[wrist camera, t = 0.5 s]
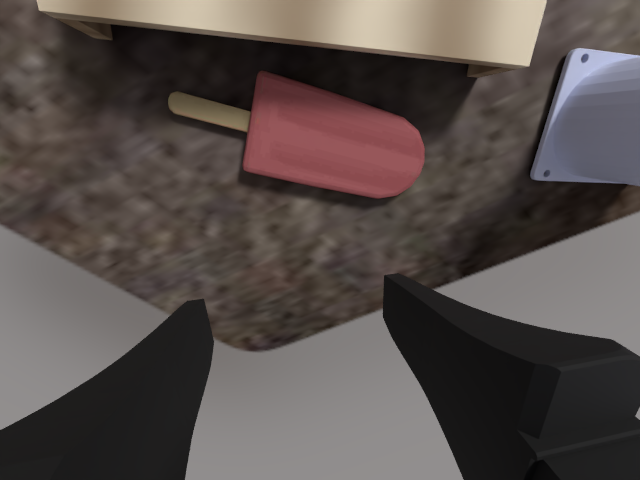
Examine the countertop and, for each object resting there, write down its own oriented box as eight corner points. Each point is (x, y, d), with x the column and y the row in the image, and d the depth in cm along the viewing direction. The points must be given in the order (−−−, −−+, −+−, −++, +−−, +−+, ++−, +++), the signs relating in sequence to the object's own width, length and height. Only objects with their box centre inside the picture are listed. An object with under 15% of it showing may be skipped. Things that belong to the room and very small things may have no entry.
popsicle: (168, 39, 14) (440, 124, 18) (177, 47, 15) (426, 124, 19) (160, 153, 16) (409, 209, 19) (169, 151, 17) (399, 203, 21)
